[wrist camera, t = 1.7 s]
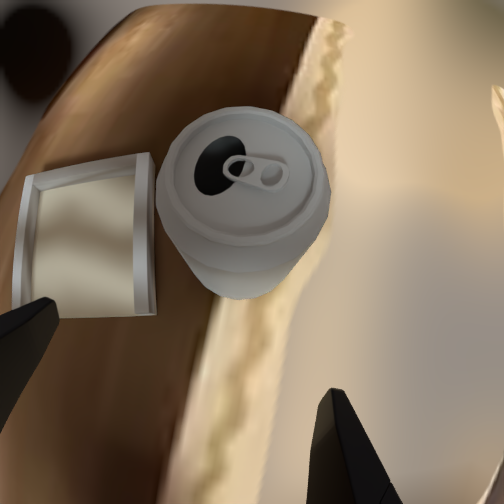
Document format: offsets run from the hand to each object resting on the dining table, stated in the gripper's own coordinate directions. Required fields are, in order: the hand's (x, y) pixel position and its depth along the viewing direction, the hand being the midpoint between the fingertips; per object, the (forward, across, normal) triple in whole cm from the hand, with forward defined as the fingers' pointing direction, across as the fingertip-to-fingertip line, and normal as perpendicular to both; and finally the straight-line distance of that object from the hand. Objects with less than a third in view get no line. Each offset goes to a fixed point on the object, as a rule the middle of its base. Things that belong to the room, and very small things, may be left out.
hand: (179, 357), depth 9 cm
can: (+14, 0, +4) cm, 15 cm away
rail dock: (+12, +12, +6) cm, 18 cm away
